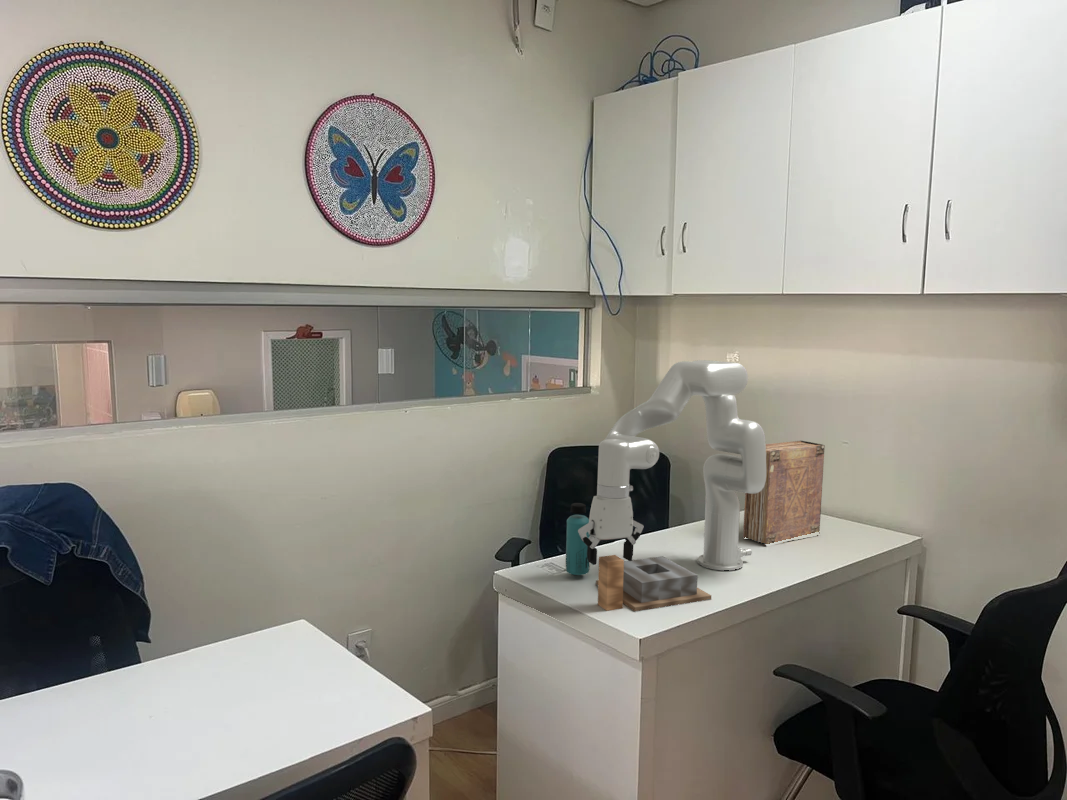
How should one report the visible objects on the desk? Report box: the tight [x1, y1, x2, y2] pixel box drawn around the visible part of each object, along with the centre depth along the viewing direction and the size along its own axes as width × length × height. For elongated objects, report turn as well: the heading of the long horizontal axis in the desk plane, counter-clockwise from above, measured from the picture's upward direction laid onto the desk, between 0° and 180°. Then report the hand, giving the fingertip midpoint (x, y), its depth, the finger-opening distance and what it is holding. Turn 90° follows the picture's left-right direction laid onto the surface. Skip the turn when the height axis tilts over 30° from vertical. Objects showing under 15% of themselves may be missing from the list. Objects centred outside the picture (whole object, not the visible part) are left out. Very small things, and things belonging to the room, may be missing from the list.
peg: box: [597, 554, 625, 612], centre depth 188 cm, size 4×4×12 cm
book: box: [742, 440, 826, 545], centre depth 248 cm, size 25×9×30 cm, turn 122°
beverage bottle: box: [565, 502, 591, 576], centre depth 208 cm, size 6×7×20 cm
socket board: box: [595, 555, 712, 612], centre depth 199 cm, size 22×20×6 cm
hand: (609, 561), depth 187 cm, fingers open, 9 cm apart
